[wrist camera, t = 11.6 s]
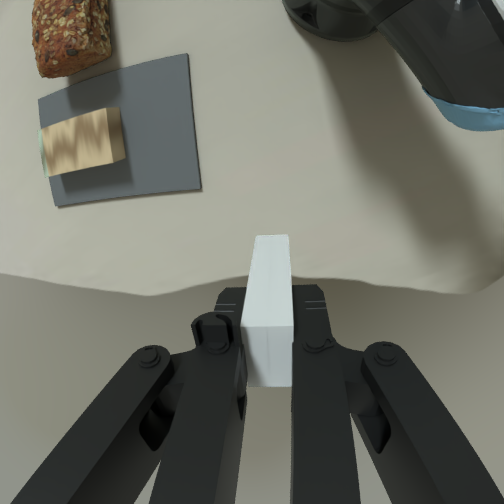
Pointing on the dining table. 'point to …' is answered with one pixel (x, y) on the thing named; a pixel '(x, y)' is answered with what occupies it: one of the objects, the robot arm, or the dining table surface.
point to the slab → (82, 142)
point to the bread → (70, 35)
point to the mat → (132, 131)
